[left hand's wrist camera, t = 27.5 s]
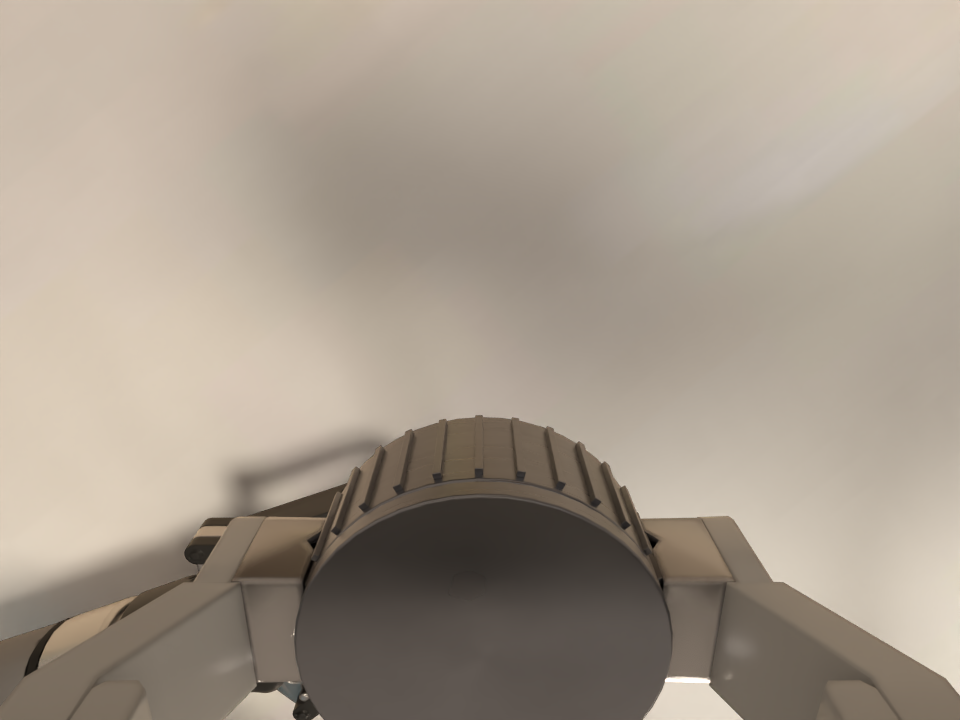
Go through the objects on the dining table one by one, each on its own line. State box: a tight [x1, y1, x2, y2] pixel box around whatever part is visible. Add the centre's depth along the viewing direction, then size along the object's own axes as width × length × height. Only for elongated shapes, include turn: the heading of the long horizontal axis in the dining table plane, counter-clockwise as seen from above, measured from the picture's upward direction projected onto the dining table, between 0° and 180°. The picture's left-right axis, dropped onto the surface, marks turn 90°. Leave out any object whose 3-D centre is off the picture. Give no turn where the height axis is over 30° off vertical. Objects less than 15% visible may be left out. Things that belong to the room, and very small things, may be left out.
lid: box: [294, 415, 673, 720], centre depth 9 cm, size 5×5×2 cm
